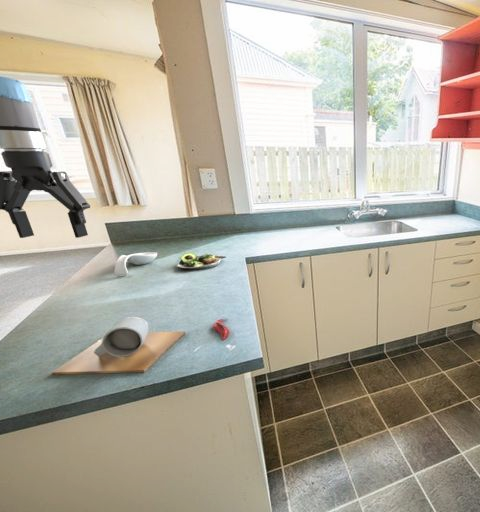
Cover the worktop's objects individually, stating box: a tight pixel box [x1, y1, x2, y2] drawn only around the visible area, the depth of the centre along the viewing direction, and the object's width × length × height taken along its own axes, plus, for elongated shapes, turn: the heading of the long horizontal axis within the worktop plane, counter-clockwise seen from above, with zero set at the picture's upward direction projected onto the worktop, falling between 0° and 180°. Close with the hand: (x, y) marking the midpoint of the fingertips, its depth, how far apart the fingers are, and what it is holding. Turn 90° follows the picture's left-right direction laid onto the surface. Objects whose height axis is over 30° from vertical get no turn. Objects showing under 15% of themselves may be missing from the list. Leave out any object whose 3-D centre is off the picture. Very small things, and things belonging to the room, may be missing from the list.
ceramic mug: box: [94, 316, 150, 357], centre depth 73 cm, size 11×8×8 cm
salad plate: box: [177, 252, 228, 272], centre depth 136 cm, size 19×18×5 cm
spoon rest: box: [113, 251, 158, 277], centre depth 131 cm, size 24×12×7 cm, turn 15°
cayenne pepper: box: [212, 318, 230, 341], centre depth 84 cm, size 12×5×2 cm, turn 23°
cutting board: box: [51, 330, 186, 376], centre depth 74 cm, size 20×16×1 cm
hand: (54, 236), depth 77 cm, fingers open, 13 cm apart
